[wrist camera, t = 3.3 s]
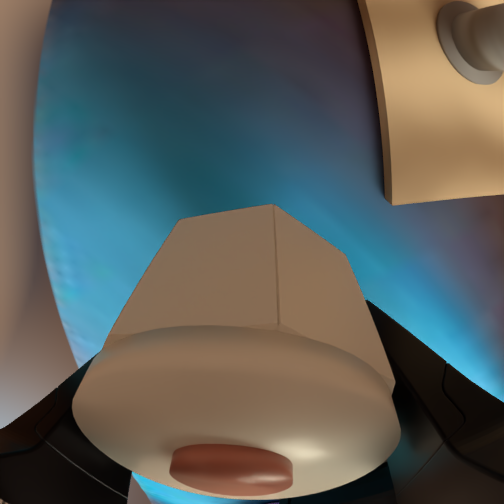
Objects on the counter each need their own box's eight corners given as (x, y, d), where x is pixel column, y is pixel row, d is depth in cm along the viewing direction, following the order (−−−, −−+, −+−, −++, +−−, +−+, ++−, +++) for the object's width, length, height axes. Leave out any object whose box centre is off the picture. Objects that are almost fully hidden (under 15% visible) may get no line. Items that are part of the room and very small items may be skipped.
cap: (347, 358, 11) (374, 497, 6) (184, 373, 11) (154, 501, 6) (345, 190, 8) (457, 356, 2) (119, 228, 8) (1, 372, 3)
